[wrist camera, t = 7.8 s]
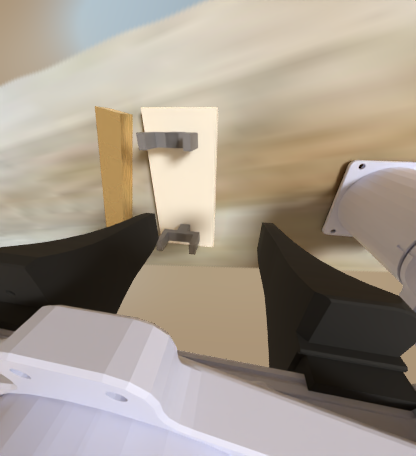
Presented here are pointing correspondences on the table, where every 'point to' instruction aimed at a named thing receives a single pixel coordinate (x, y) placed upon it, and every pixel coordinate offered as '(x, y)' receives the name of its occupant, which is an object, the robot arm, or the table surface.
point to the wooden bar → (115, 163)
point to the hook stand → (182, 172)
